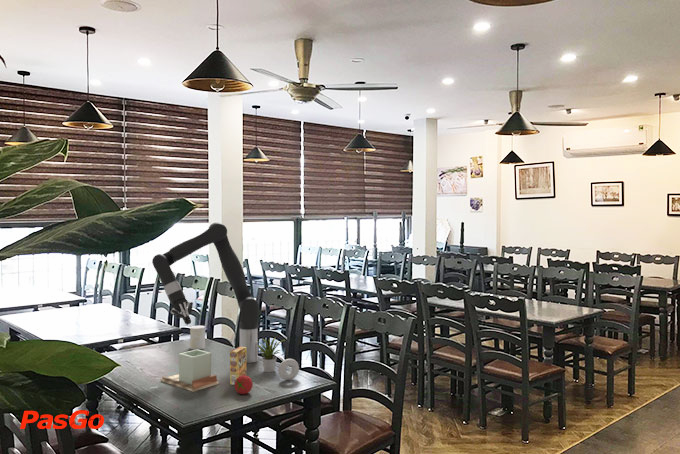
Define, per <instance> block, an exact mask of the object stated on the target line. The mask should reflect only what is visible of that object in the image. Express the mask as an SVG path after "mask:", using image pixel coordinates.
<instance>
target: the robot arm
mask: <svg viewBox="0 0 680 454" xmlns="http://www.w3.org/2000/svg"><path fill="white" fill-rule="evenodd" d="M210 244H214V246H215V249H216V251H217V254H218V258H219V261H220V264H221V267H222V270H223V272H224V275H225V276H226V277H225V278H226V279H227V281H228V282H229V285H230V286H231V288H232V290H233V292H234V294H235V298H236V301H237V305H238V309H239V310H240V322H239V347H246V359H247V364H249V363H256V362H258V357H259V356H258V351H259V349H258V348H259V346H257V345H259V344H258V343H259V341H258V328H259V327H258V325H259V324H258V323H259V318H260V317H259V315H260V314H259V313H260V312H259V311H260V307H259V302H258V301H257V300H256V299H255V298H254V297H253V295H252V293H251V291H250V290H249V288H248V285H247V280H246V275H245V272H244V269H243V266H242V263H241V261H240V259H239V258H238V255H237V253H235V251H234V249H233V248H232V246H231V244H230V241H229V237H228V228H227V227H226V225H225V224H223V223H221V222H214V223H212V224H210V225H209V227H208V229H206V230H205V231H203V232H202V233H200V234H199V235H196V236H195V237H192V238H190V239H188V240H185V241H183V242H181V243H179V244H177V245H175V246H173V247H171V248H170V249H169V250H168V251H167V252H164V253H163V254H156V255H154V256H153V258H152V266H153V268H154V269H155V271H156V273H157V275H158V276H159V279H160V281H161V284H162V286H163V289H164V292H165V294H166V296H167V298H168V300H169V303H170V304H171V308H172V309H171V310H170V311H169V313H170V314H171V315H172V316H174V317H175V318H177V319H182V320H183V322H184V324H185V325H186V326H188V325H190V324H191V323H192V320H191V317H190V314H192V310H193V306H194V303H193V301H191V302H190V301H188V299H187V298H186V295H185V293H184V291H183V288H182V287H181V285H180V283H179V282H178V279H177V277H176V274H175V272H173V270H172V268H171V266H172V265H173V264H175V263H176V262H177V261H180V260H181V259H182V260H183V259H184V258H186V257H188V256H189V255H192V253H195V252H196V251H198V250H200V249H201V248H204V247H206V246H208V245H210ZM257 341H258V342H257Z"/></svg>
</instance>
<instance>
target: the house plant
mask: <svg viewBox="0 0 680 454" xmlns="http://www.w3.org/2000/svg"><path fill="white" fill-rule="evenodd" d="M262 340H263V341H264V342H265V346H264V344H263V343H262V342H260V341H258V340H257V342H258V343H259V344H260V345H259V344H258V345H257V346H258V348H259V349H258V351H259V352H260V353H263V354H261V356H263V357H261V360H262V366H263V367H262V368H263V372H265V373H271V372H275V370H276V363H277V356H274V355H276V354H280V352H279V351H281V349H276V348H277V347H278V346H279V345H280V343H282V342H284V341H286V340H285V339H283V340H280V341H279V340H276V337H274V338H273V339H272V340H270V339H268V341H267V340H266V339H264V338H262ZM270 341H271V342H270ZM275 349H276V350H275Z"/></svg>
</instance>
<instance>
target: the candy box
mask: <svg viewBox="0 0 680 454" xmlns="http://www.w3.org/2000/svg"><path fill="white" fill-rule="evenodd" d="M247 364H248V363H247V359H246V347H240V346H238V347H236V348H234V349H232V350H229V385H231V386H232V385H234V384H235V380H236V379H237V378H238V377H239V376H242V375H245V376H248V375H247V370H248V369H247ZM234 386H235V385H234Z"/></svg>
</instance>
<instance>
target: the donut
mask: <svg viewBox="0 0 680 454" xmlns="http://www.w3.org/2000/svg"><path fill="white" fill-rule="evenodd" d="M299 366H300V365H299V363H298V361H296V360H295V359H293V358H287V359H284V360H283V361H282V362H281V363H280V364H279V366H278V369H277V370H278V375H279V376H280V378H281V379H282V380H285V381H292V380H293V379H295V378H296V377H297V375H298V374H299V371H300V367H299ZM288 367H291V370H290V372H287V368H288Z"/></svg>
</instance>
